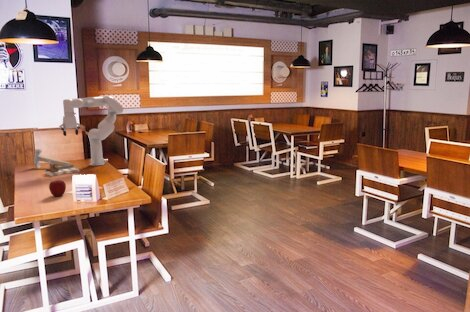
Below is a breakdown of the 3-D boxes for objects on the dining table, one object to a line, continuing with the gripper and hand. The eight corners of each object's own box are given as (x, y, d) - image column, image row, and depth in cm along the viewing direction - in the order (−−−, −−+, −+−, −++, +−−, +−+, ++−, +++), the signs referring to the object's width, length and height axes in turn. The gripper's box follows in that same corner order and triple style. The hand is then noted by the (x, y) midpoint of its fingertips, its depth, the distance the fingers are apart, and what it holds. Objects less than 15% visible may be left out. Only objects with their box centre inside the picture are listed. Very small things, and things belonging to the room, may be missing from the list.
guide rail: (73, 167, 321) (72, 164, 321) (73, 167, 320) (73, 165, 320) (45, 171, 306) (45, 169, 305) (46, 171, 305) (45, 169, 305)
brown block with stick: (55, 170, 309) (54, 163, 308) (60, 172, 302) (60, 164, 301) (50, 171, 307) (49, 163, 306) (55, 173, 299) (54, 165, 298)
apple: (64, 192, 249) (62, 177, 248) (68, 195, 242) (67, 180, 240) (48, 195, 243) (46, 180, 242) (52, 198, 236) (51, 182, 234)
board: (73, 169, 322) (72, 167, 321) (79, 171, 314) (79, 169, 313) (45, 173, 306) (45, 171, 306) (51, 176, 298) (51, 173, 298)
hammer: (71, 156, 331) (37, 148, 331) (68, 156, 326) (34, 149, 326) (68, 173, 334) (35, 165, 334) (66, 174, 329) (32, 166, 329)
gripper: (77, 113, 326) (79, 133, 329) (56, 114, 314) (58, 135, 317) (81, 114, 321) (83, 134, 324) (60, 115, 309) (62, 136, 312)
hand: (71, 135), depth 320 cm, fingers open, 9 cm apart
